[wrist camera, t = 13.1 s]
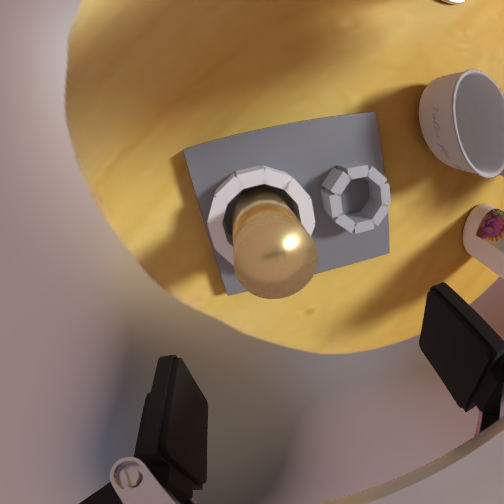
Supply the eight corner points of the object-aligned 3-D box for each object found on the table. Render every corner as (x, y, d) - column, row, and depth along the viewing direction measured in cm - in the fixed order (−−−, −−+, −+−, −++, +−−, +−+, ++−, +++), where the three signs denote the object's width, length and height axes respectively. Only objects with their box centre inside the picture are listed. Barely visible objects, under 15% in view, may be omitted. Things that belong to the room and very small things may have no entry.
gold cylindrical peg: (225, 194, 25) (223, 234, 16) (280, 181, 25) (311, 212, 16) (239, 245, 27) (245, 306, 18) (291, 232, 27) (322, 287, 18)
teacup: (388, 110, 24) (437, 110, 17) (435, 58, 21) (482, 50, 14) (449, 200, 28) (494, 221, 21) (488, 146, 25) (531, 157, 18)
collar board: (185, 148, 24) (177, 151, 21) (368, 112, 24) (388, 111, 20) (227, 288, 30) (228, 309, 27) (383, 247, 30) (400, 262, 26)
